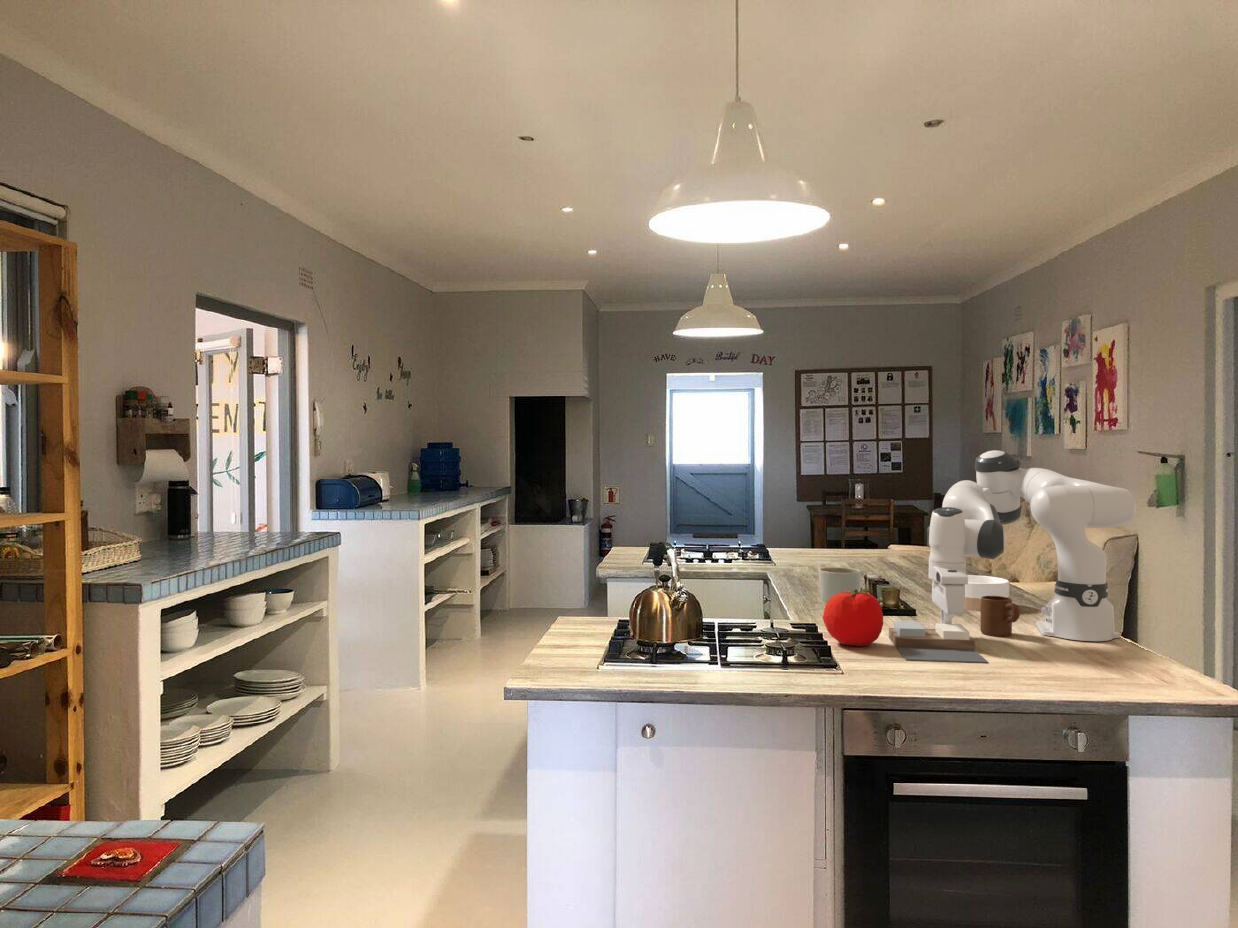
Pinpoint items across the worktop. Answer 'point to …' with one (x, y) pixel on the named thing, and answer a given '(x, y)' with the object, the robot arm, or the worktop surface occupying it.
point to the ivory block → (952, 631)
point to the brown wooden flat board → (930, 641)
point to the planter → (838, 581)
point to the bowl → (983, 590)
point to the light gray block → (909, 629)
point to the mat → (941, 655)
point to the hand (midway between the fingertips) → (946, 626)
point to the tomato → (853, 618)
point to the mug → (998, 615)
